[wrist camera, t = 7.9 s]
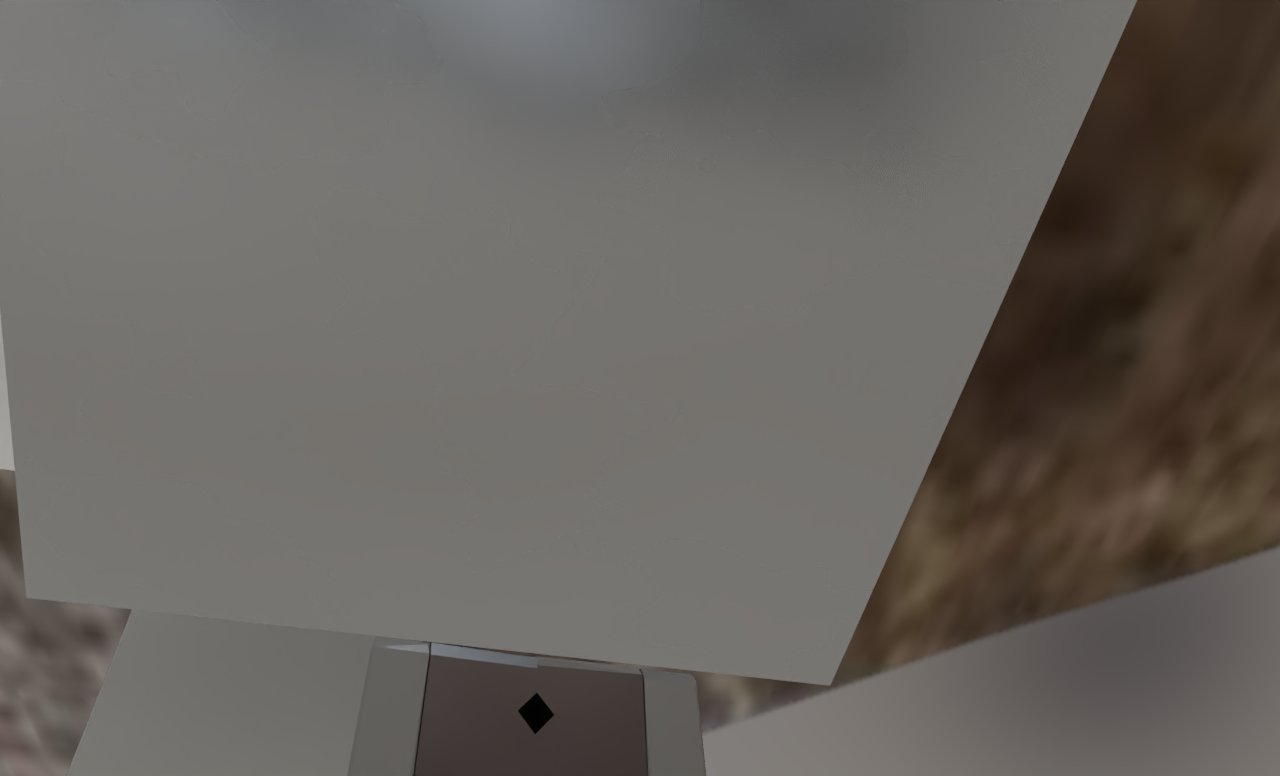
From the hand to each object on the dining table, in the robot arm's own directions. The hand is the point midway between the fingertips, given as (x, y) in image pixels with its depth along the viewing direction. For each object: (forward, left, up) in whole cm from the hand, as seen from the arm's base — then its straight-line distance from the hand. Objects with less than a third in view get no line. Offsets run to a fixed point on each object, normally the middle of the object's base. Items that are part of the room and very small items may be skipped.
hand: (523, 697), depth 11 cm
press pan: (0, +3, -12) cm, 13 cm away
